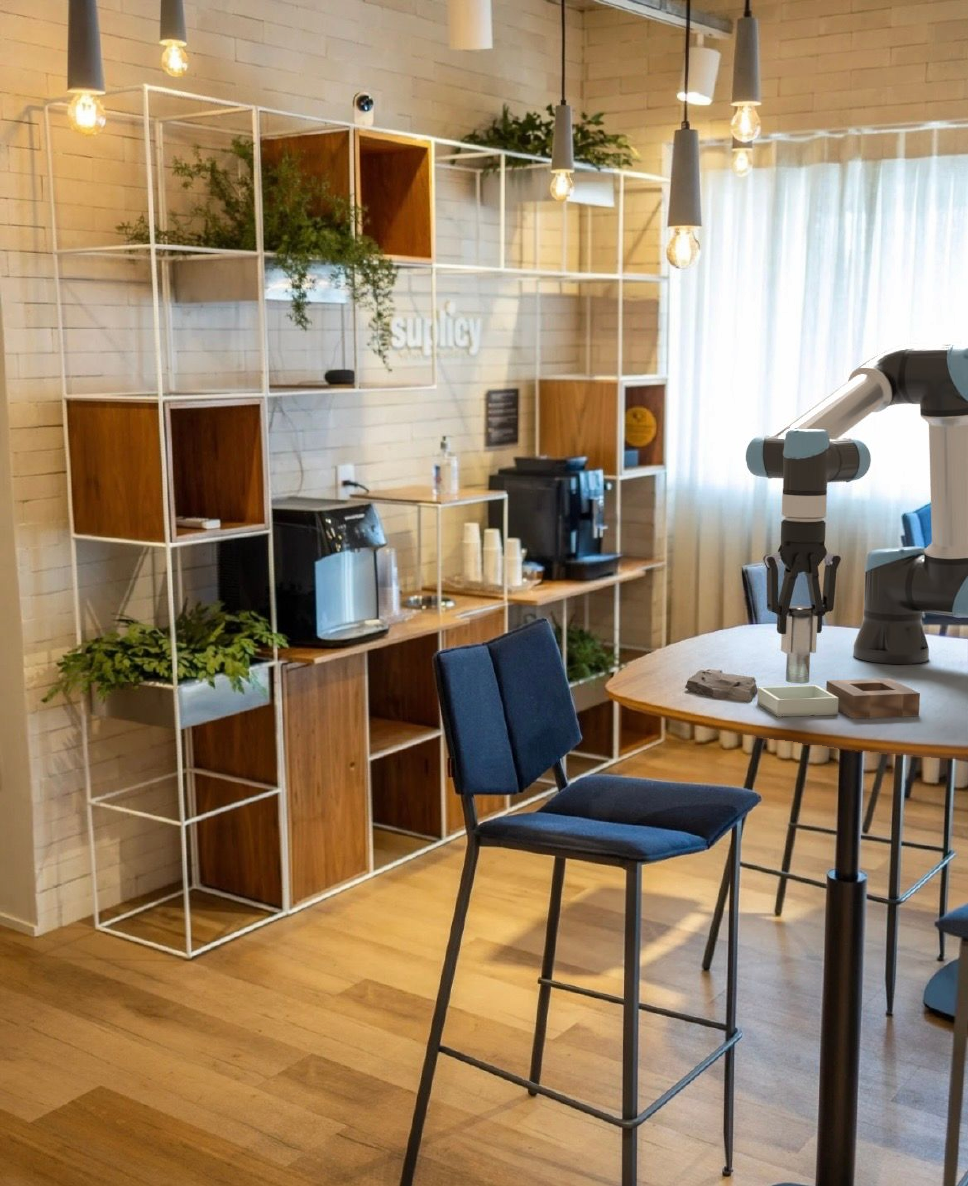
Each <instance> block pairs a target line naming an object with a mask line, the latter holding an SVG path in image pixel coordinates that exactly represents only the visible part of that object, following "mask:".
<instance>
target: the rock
mask: <svg viewBox="0 0 968 1186" xmlns="http://www.w3.org/2000/svg"><path fill="white" fill-rule="evenodd" d="M756 683H757V680H756V678H755V677H754V676H745V675H741V674H740V675H738V674H731V673H725V672H724V673H723V670H721V669H709V668H708V669H706V670H705V669H702V670H701V669H700V670H698V671H697V672H696V673H695V674H694V675H692V676H691V677H689V678H688V679H687V680H686V684H685V685H684V687H685V689H687V691H689V692H692V693H696V694H700V695H706V696H711V697H713V699H719V700H721V699H722V700H732V701H739V702H749V703H751V702H752V701H753V698H754V697H755V695H757V694H758V687H757V684H756Z"/></svg>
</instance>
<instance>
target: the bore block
mask: <svg viewBox="0 0 968 1186" xmlns="http://www.w3.org/2000/svg"><path fill="white" fill-rule="evenodd" d="M825 689H826V691H828V692H829V693H831V694H833V695H835V696H836V697H838V711H840V712H841V711H842V714H845V715H847V716H848V717H850V716H851V717H852V718H851V717H850V718H851V719H871V718H872V719H873V718H874V719H875V718H900V717H919V716H920V702H921V701H920V700H921V693H920V692H918V691H916V690H914V689H912V688H910V687H908V686H906V685H904V684H902V683H901V682H898V681H896V680H894V679H892V678H866V679H864V678H863V679H862V678H861V679H839V680H834V679H833V680H826V686H825Z"/></svg>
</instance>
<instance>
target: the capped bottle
mask: <svg viewBox="0 0 968 1186" xmlns="http://www.w3.org/2000/svg"><path fill="white" fill-rule="evenodd" d="M788 615H789V616H791V617H792V631H791V654H786V664H785V665H786V669H785V681H786V682H787V683H789V684H790V683H791V684H800V685H801V684H808V683H809V682H810V667H811V652H810V647H811V621H812V615H813V608H811V606H803V605H802V606H801V605H793V606H791V605H790V607H789V611H788Z"/></svg>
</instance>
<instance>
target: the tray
mask: <svg viewBox="0 0 968 1186" xmlns="http://www.w3.org/2000/svg"><path fill="white" fill-rule="evenodd" d="M757 689H758V692H757V700H756V701H757V702H756V703H757V705H759V706H761V707H762V708H763V709H764V710H766V711H768V712H769V713H770V714H772V715H774V716H775V717H776V716H777V718H782V716H783V718H784V716H790V717H807V716H808V717H810V716H811V715H815V716H834V715H837V716H838V715H839V710H838V697H836V696H835V695H833V694H831V693H829V692H828V691H826V690H825V689H824V688H823V687H820V686H819V685H817V684H814V685H813V684H811V685H806V684H805V685H785V686H784V685H783V686H760V687H759V686H758V687H757ZM811 717H812V716H811Z"/></svg>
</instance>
